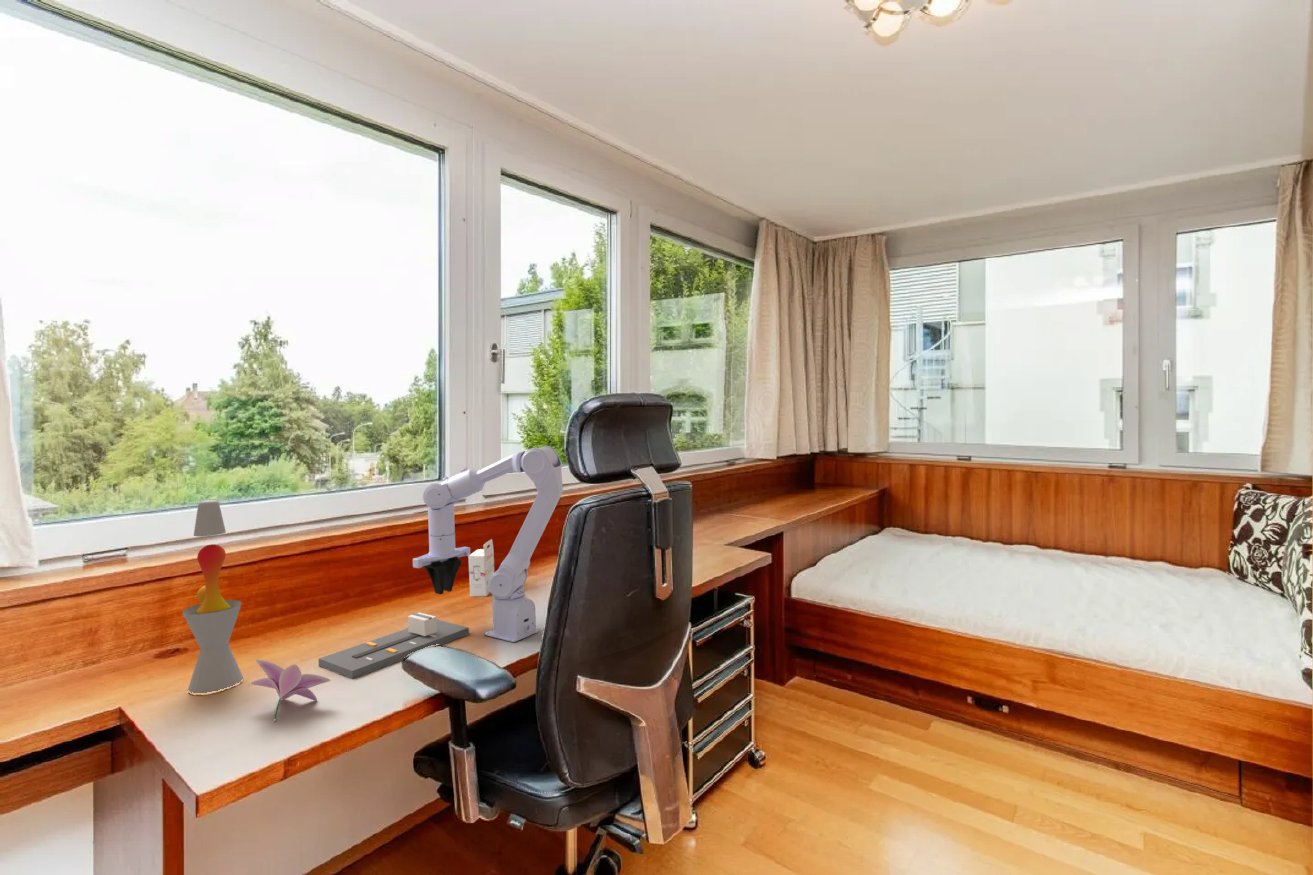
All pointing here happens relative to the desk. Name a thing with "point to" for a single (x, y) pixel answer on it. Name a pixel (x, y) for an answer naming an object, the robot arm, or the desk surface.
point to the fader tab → (422, 624)
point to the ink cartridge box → (481, 569)
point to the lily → (288, 681)
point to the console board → (388, 649)
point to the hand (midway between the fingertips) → (443, 592)
